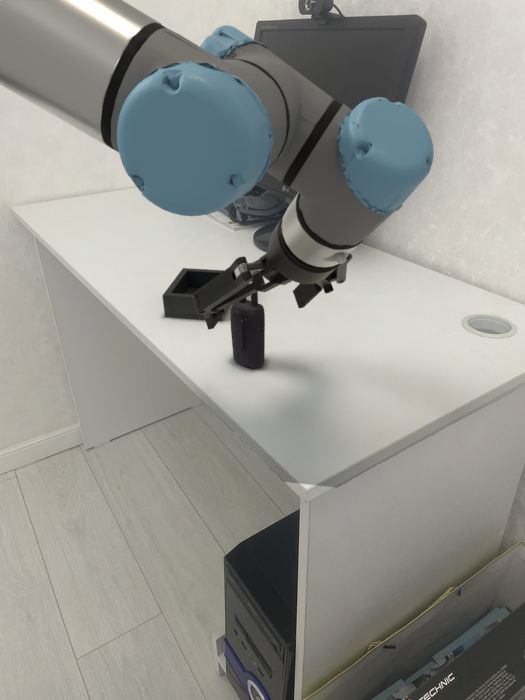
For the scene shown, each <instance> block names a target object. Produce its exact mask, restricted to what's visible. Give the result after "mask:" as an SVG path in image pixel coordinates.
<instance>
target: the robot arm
mask: <svg viewBox="0 0 525 700" xmlns="http://www.w3.org/2000/svg"><path fill="white" fill-rule="evenodd" d="M0 86H2V87H4V88H5V89H7V90H8V91H11V92H12V93H14V94H15V95H17V96H19V97H21V98H23V99H24V100H27V101H28V102H30V103H32V104H33V105H35V106H37V107H39V108H41V109H42V110H44V111H46V112H47V113H49V114H51V115H52V116H54V117H56V118H57V119H59V120H61V121H63V122H65V123H67V125H70V126H71V127H73V128H75V129H76V130H78V131H80V132H82V133H84V134H85V135H87V136H89V137H90V138H93V139H94V140H96V141H98V142H100V144H101V143H102V145H105V146H107V147H108V148H110V149H112V150H114V151H115V152H117V153H118V154H119V158H120V162H121V164H122V166H123V169H124V171H125V173H126V174H127V176H128V177H129V178H130V179H131V181H132V182H133V184H134V185H135V187H136V188H137V189H138V190H139V192H140V193H141V195H142V196H143V197H145V199H146V200H147V201H149V202H150V203H152V204H153V205H154V206H155V207H158V208H159V209H161V210H163V211H166V212H168V213H171V214H174V215H179V216H182V217H200V216H201V217H202V216H206V215H211V214H214V213H216V212H218V211H221V210H222V209H225V208H226V207H228V206H229V205H231V204H233V203H234V202H236V201H238V200H240V199H242V198H243V197H244V196H246V195H248V194H249V193H250V192H251V191H252V190H253V188H254V187H255V186H256V184H257V183H259V182H260V181H261V180H262V179H263V177H264V176H265V174H266V173H268V174H269V175H270V176H272V177H273V178H275V179H276V180H278V181H279V182H280V183H282V184H284V185H285V186H286V187H288V188H290V189H291V190H293V191H295V192H296V193H297V194H296V195H295V197H293V199H292V201H291V203H290V204H289V206H287V208H286V209H285V213H284V214H283V215H282V217H281V218H280V219H279V221H278V223H277V225H276V226H275V228H274V229H273V231H272V232H271V235H270V237H269V241H268V247H267V251H266V252H265V254H263V255H261V256H260V257H259V258H258V259H256V260H255V261H252V262H248V259H247V257H246V256H238V257H237V258H235V260H234V261H233V262H232V263H231V264H230V266H229V267H227V268H226V269H224V270H225V271H223V272H222V273H221V274H219V275H218V276H216V277H215V278H214V279H212V280H211V281H209V282H208V283H207V284H205V285H204V286H202V287H201V288H200V289H198V290H197V291H196V292H194V293H193V294H192V297H193V300H194V304H195V307H196V310H197V313H198V314H199V315H200V314H204V318H205V320H204V321H205V324H206V327H207V330H213V329H215V328H216V326H217V324H218V323H219V322H220V321H219V320H220V319H221V317H222V316H223V314H224V313H225V310H224V308H226V307H228V306H229V307H230V306H232V305H233V304H234V303H236V302H238V301H240V300H242V299H244V298H248V297H251V295H252V294H254V293H256V292H260V293H267V292H269V291H271V290H273V289H275V288H277V287H279V286H286V285H287V284H289V283H291V282H295V283H298V285H297V286H296V287H295V288H294V289H293V290H292V293H293V296H294V299H295V302H296V304H297V306H298V307H297V308H298V309H303V308H305V307H306V306H307V305H308V304H309V303H310V302H311V301H312V300H313V299H314V298H316V297H317V296H318V295H319V294H320V293H321V292H322V290H323V292H324V294H330V293H332V292H334V291H335V290H334V287H333V284H332V283H334V282H336V284H338V285H340V284H343V283H345V282H346V281H347V269H348V264H349V263H350V261H351V260H352V259H353V255H352V253H353V251H354V250H356V249H357V247H359V245H360V244H362V243H363V242H364V241H365V240H366V239H367V238H368V237H369V236H370V235H371V234H372V233H373V232H374V231H375V230H376V229H377V228H378V227H379V226H381V224H383V223H384V222H385V221H386V220H387V219H388V218H390V217H391V215H393V214H394V213H395V212H397V211H400V209H401V208H402V207H403V204H404V203H405V202H406V201H407V199H408V198H409V197H410V196H411V195H412V194H413V193H414V191H415V190H416V189H417V188H418V187H419V186H420V185H421V184H422V183H423V181H424V180H425V179H426V177H427V176H428V175H429V174H430V172H431V169H432V165H433V162H434V155H435V153H434V152H435V151H434V143H433V139H432V135H431V133H430V131H429V129H428V127H427V125H426V123H425V122H424V120H423V119H422V118H421V116H420V115H418V113H417V112H416V111H415V110H413V108H410V107H409V106H408V105H406V104H405V103H402V102H401V101H396V102H392V101H390V100H389V99H388V98H386V97H381V96H376V97H372V98H368V99H365V100H363V101H362V102H360V103H359V104H357V105H356V106H355V107H354V108H353V109H351V108H350V107H349V106H347V105H346V104H345V103H341V102H340V101H338V100H337V99H334V98H333V97H332V96H331V95H329V93H326V92H325V91H324V90H322V89H321V88H320V87H318V86H317V85H316V84H315V83H314V82H312V81H310V80H309V79H308V78H306V77H305V76H304V75H303V74H301V73H300V72H299V71H297V70H296V69H294V68H293V67H292V66H291V65H290V64H288V63H287V62H286V61H284V60H283V59H281V58H280V57H279V56H278V55H276V54H274V52H272V51H271V50H269V47H268V46H267V45H266V44H264V43H263V42H262V41H257V40H255V39H253V38H252V37H251V36H248V35H247V34H246V33H244V32H242V31H241V30H239V29H238V28H237V27H235V26H232V25H228V24H227V25H220V26H219V27H217V28H216V29H214V31H212V33H211V34H209V35H208V36H206V37H205V39H204V40H203V42H202V43H201V44H200V46H199V45H198V44H196V43H194V42H193V41H191V40H190V39H188V38H186V37H185V36H183V35H182V34H180V33H178V32H175V31H173V29H172V30H171V29H170V28H168V27H166V26H164V25H163V24H162V23H161V22H160V21H158V20H156V19H155V18H153V17H151V16H149V15H148V14H146V13H144V12H143V11H141V10H140V9H138V8H136V7H135V6H133V5H131V4H129V3H128V2H126V1H125V0H0ZM265 280H267V281H268V282H266V281H265ZM229 307H228V308H229ZM225 314H226V313H225Z"/></svg>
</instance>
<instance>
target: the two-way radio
mask: <svg viewBox="0 0 525 700" xmlns="http://www.w3.org/2000/svg"><path fill="white" fill-rule="evenodd" d="M258 292H259V291H258ZM258 292H256V293H254V294H252V295H250V300H249V299H248V297H246V298H244V299H242V300H240V301H238V302H236V303H234V304H232V305H231V307H230V333H231V335H230V336H231V346H232V356H233V361H234V362H235V363H237V364H239V365H241V366H244V367H246V368H251V369H256V368H260V367H262V366H263V365H264V363H265V352H266V351H265V350H266V349H265V348H266V345H265V344H266V343H265V342H266V340H265V339H266V338H265V336H266V333H265V331H266V316H265V315H266V314H265V308H264V305H263V304H261V303H259V293H258Z"/></svg>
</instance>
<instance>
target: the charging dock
mask: <svg viewBox="0 0 525 700" xmlns="http://www.w3.org/2000/svg"><path fill="white" fill-rule="evenodd" d="M225 270H226V269H224V270H223V269H209V268H208V269H206V268H187V267H183V268H182V269H181V270H180V271H179V273H178V274H177V276H175V278H174V279H173V281H172V282H171V283H170V284H169V286H168V287H167V288H166V290H165V291H164V293H163V294H162V295H161V296H162V304H163V312H164V318H173V319H185V320H201V321H205V318H204V314H200V315H199V314H198V313H197V310H196V307H195V304H194V300H193V297H192V294H193V293H194V292H196V291H197V290H198V289H200V288H201V287H202V286H204V285H205V284H207V283H208V282H209V281H211V280H212V279H214V278H215V277H216V276H218V275H219V274H221V273H222V272H223V271H225ZM229 307H230V306H228V307H226V308H224V310H225V313H224V314H223V316H222V317H221V319H220V320H219V321H218V322H222V321H223V320H224V318H225V316H226V313H227V311H228V309H229Z"/></svg>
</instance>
